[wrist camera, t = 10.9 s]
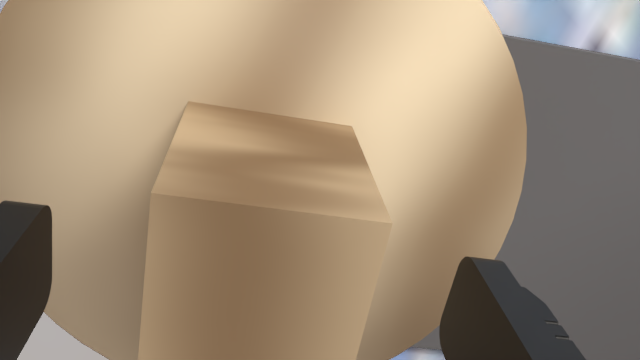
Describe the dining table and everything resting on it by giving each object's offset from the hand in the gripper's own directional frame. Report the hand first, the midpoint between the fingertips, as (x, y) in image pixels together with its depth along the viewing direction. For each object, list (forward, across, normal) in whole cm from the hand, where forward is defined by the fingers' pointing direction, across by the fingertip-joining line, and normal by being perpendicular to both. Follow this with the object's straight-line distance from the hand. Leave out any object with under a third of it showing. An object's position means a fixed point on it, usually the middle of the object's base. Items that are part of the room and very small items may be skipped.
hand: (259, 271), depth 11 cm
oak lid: (+5, 0, 0) cm, 5 cm away
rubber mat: (+11, -15, +3) cm, 19 cm away
